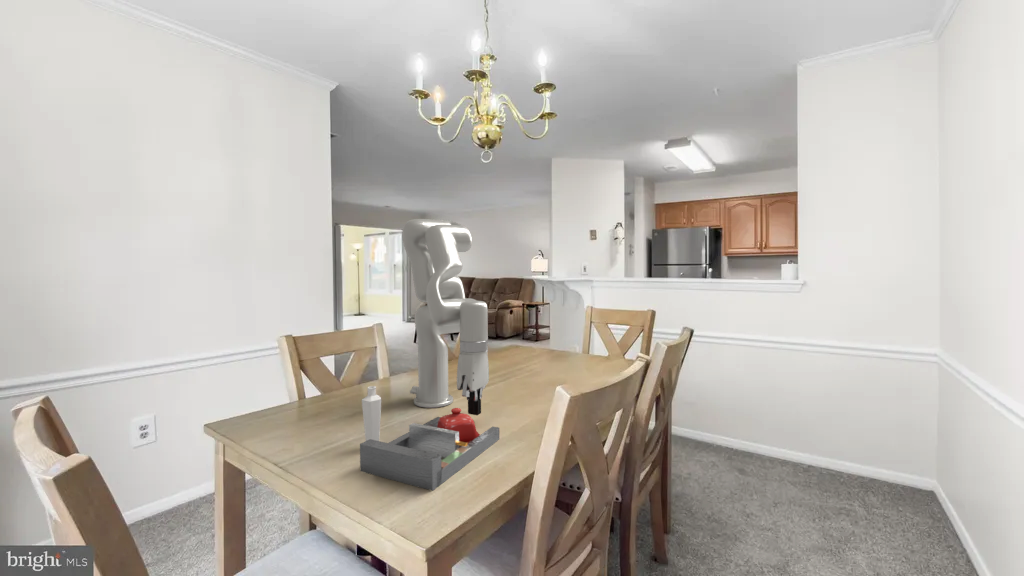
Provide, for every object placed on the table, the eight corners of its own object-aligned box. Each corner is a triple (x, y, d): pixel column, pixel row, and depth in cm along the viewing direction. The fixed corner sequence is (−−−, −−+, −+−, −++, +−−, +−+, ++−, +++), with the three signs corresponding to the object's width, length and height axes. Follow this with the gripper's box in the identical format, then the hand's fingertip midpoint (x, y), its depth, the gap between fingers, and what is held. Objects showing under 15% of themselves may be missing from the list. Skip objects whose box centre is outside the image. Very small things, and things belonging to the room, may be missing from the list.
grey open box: (360, 471, 95) (359, 444, 94) (438, 427, 120) (437, 405, 120) (432, 490, 86) (432, 460, 86) (499, 439, 112) (499, 416, 112)
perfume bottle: (377, 442, 110) (375, 383, 109) (385, 447, 107) (384, 387, 106) (359, 447, 107) (358, 387, 106) (367, 453, 104) (366, 390, 103)
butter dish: (429, 436, 115) (428, 404, 114) (471, 430, 119) (471, 399, 118) (439, 454, 104) (438, 418, 103) (485, 446, 108) (485, 412, 108)
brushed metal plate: (409, 449, 105) (409, 425, 104) (413, 447, 106) (413, 422, 106) (464, 462, 98) (464, 435, 98) (468, 459, 99) (468, 433, 99)
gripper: (475, 341, 126) (476, 404, 127) (446, 350, 113) (447, 420, 114) (498, 343, 123) (499, 407, 124) (471, 352, 110) (472, 424, 111)
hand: (474, 413), depth 119 cm, fingers closed
